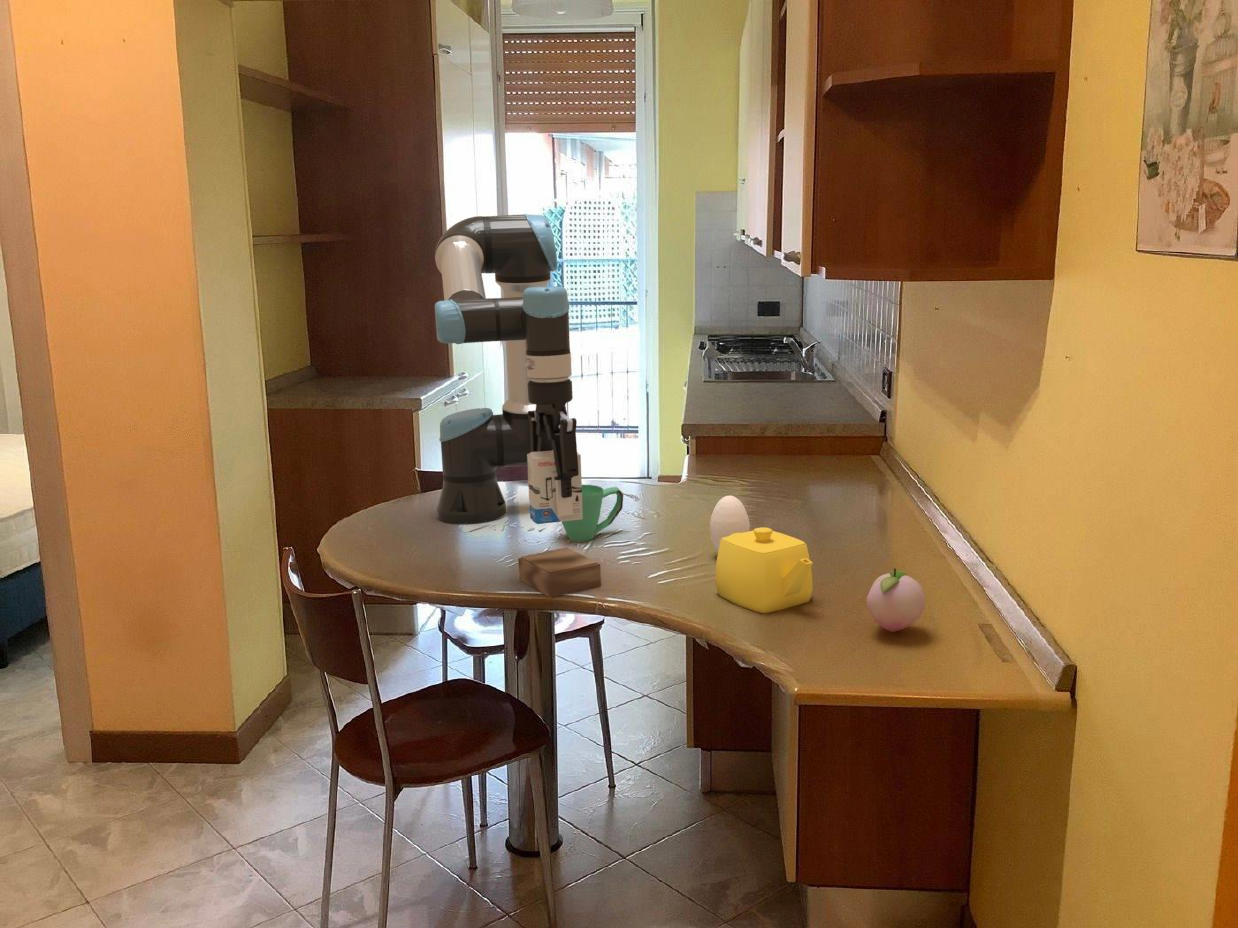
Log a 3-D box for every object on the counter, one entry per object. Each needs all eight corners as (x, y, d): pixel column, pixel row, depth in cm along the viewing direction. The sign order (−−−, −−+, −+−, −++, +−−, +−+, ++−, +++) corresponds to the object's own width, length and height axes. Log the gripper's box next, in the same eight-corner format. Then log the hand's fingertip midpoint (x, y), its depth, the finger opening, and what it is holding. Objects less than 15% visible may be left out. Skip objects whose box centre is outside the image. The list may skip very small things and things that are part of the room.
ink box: (535, 525, 178) (531, 457, 175) (529, 518, 182) (526, 452, 180) (584, 519, 180) (581, 453, 178) (577, 512, 185) (574, 447, 182)
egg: (702, 556, 196) (700, 496, 193) (729, 548, 200) (728, 489, 198) (730, 565, 190) (729, 502, 188) (758, 556, 195) (757, 495, 192)
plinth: (519, 579, 186) (518, 556, 185) (568, 568, 191) (567, 546, 190) (550, 597, 176) (548, 573, 175) (601, 585, 181) (600, 562, 180)
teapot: (837, 607, 167) (837, 537, 165) (777, 624, 161) (777, 551, 158) (757, 576, 184) (757, 511, 181) (701, 590, 177) (699, 523, 175)
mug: (569, 547, 204) (566, 498, 202) (549, 536, 213) (546, 488, 211) (634, 536, 211) (633, 488, 209) (613, 525, 219) (611, 479, 217)
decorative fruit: (920, 646, 150) (922, 580, 148) (863, 640, 153) (864, 575, 151) (927, 623, 159) (929, 561, 156) (872, 618, 162) (873, 556, 159)
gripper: (505, 376, 182) (513, 504, 187) (555, 386, 166) (562, 526, 171) (544, 372, 186) (550, 497, 191) (596, 382, 170) (601, 518, 175)
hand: (556, 511), depth 181 cm, fingers closed on ink box, 6 cm apart
